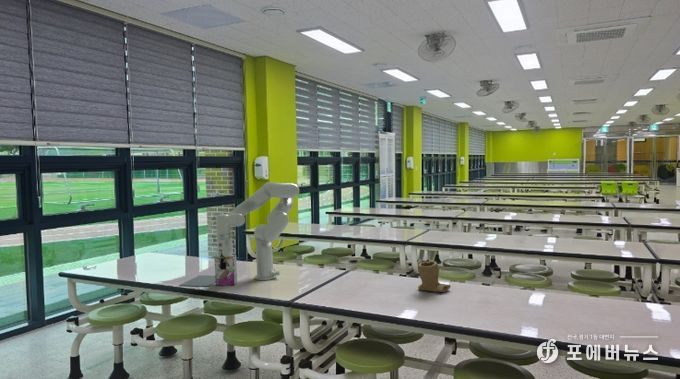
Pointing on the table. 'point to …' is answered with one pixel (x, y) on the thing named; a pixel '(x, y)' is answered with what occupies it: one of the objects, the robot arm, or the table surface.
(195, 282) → the charcoal mat
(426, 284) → the tan boot
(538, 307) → the table surface
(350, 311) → the table surface
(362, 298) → the table surface
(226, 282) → the candy bar box
